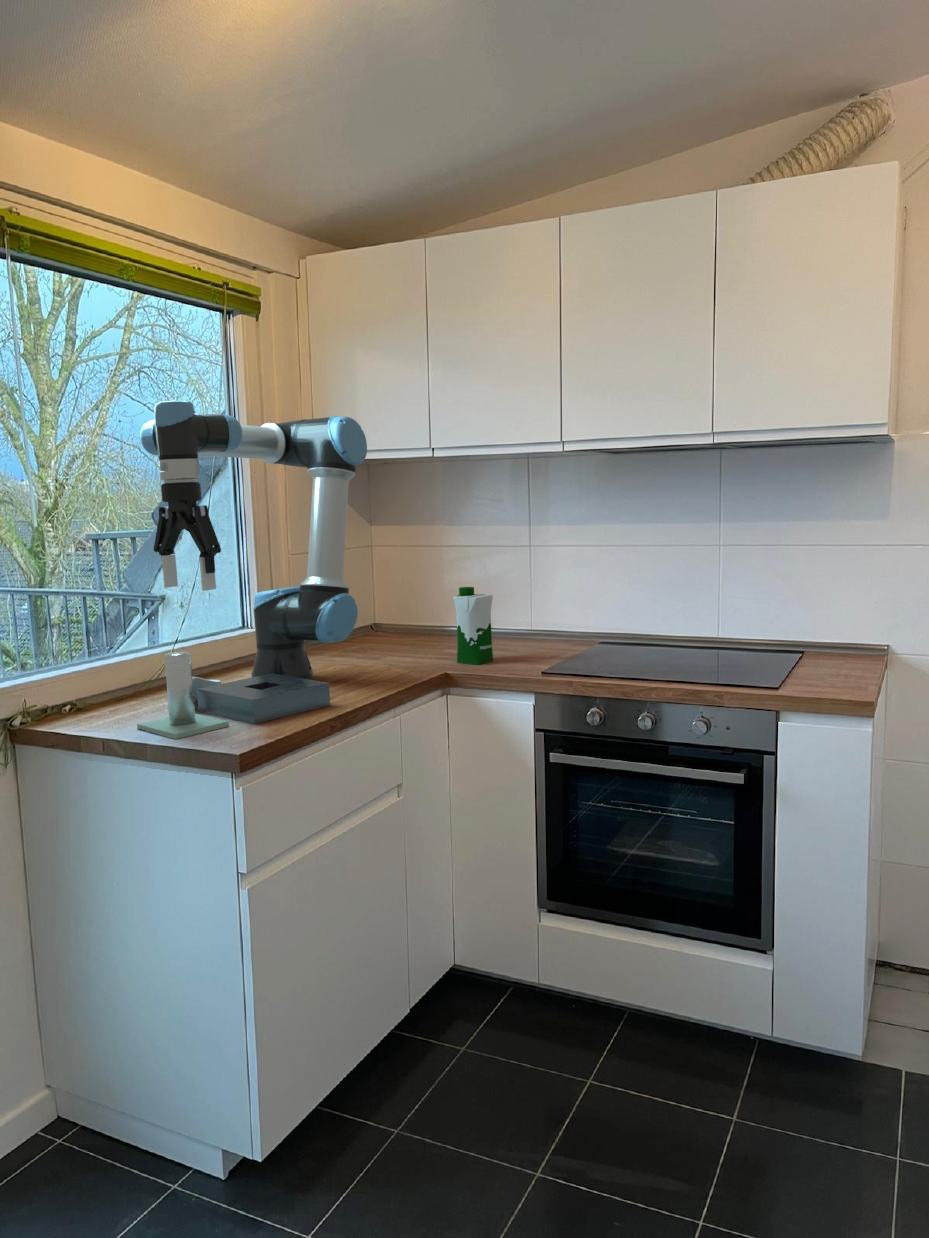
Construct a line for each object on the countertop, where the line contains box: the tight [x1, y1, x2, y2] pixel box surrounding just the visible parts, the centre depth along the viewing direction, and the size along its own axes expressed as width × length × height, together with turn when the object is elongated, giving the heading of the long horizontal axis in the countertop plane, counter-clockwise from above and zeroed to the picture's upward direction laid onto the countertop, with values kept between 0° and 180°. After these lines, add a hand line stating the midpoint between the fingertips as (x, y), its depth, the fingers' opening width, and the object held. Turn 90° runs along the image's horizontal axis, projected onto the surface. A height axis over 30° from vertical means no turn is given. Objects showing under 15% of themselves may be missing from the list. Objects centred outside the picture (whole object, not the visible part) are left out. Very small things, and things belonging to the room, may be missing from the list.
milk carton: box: [452, 586, 494, 666], centre depth 247 cm, size 9×9×20 cm
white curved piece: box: [193, 676, 222, 702], centre depth 207 cm, size 24×12×7 cm, turn 9°
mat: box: [136, 713, 230, 740], centre depth 185 cm, size 14×12×1 cm
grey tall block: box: [164, 651, 196, 726], centre depth 184 cm, size 5×5×14 cm
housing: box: [197, 674, 331, 725], centre depth 200 cm, size 20×20×5 cm
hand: (189, 588), depth 186 cm, fingers open, 13 cm apart
